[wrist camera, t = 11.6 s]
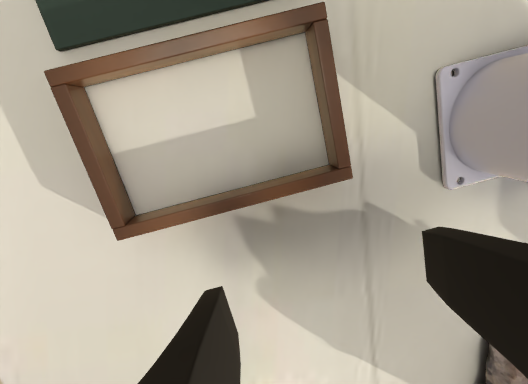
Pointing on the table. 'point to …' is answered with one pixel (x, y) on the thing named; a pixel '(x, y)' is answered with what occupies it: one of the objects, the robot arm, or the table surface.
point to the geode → (502, 370)
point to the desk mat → (120, 17)
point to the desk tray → (185, 49)
